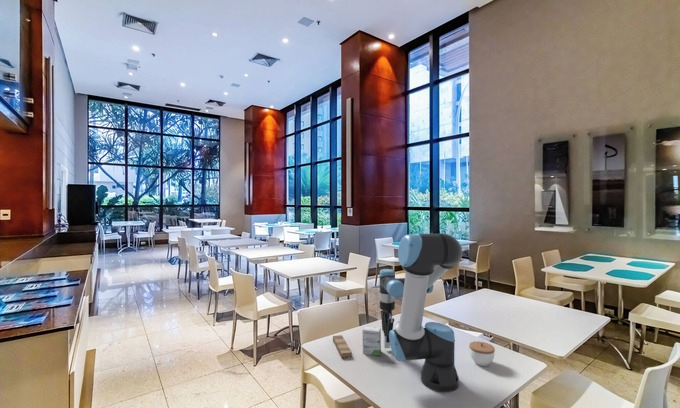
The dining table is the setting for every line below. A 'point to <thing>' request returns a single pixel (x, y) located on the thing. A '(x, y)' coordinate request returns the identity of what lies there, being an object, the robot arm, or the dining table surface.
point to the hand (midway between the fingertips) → (387, 347)
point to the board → (342, 347)
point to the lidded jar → (481, 353)
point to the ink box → (371, 341)
